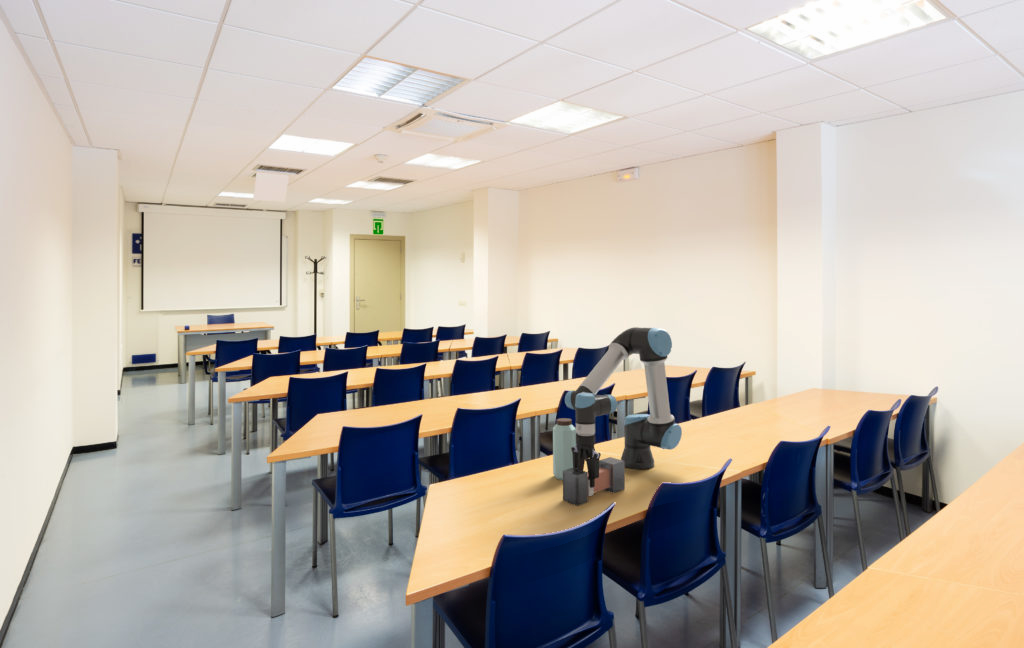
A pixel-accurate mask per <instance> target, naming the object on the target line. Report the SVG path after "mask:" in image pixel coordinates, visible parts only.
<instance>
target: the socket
mask: <svg viewBox="0 0 1024 648" xmlns="http://www.w3.org/2000/svg"><path fill="white" fill-rule="evenodd" d="M587 472H588V471H586V470H583V471H582V470H579V469H577V468H570V469H567V470H563V480H562V500H563V502H566V503H568V504H570V505H574V506H581V505H584V504H586V503H588V498H589V496H588V491H587Z"/></svg>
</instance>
